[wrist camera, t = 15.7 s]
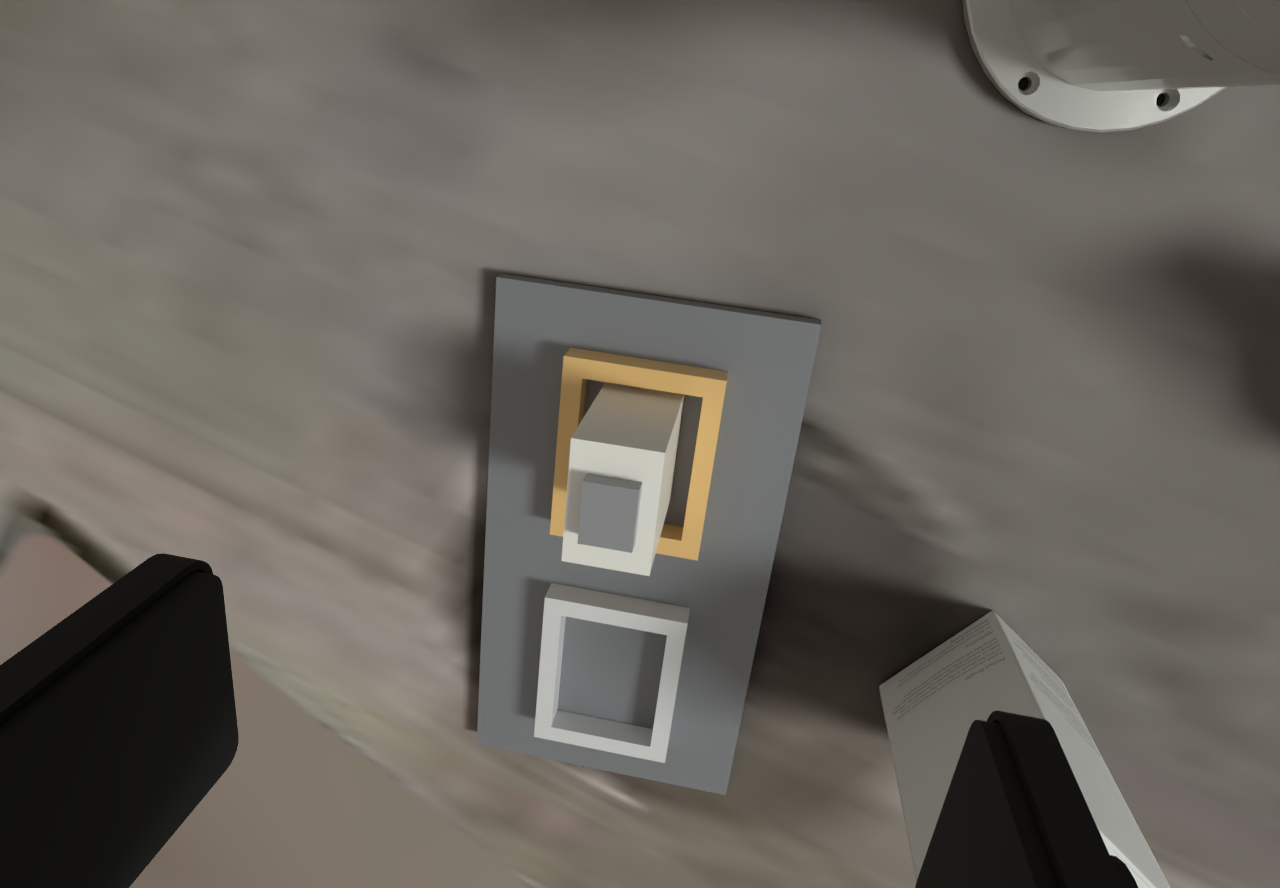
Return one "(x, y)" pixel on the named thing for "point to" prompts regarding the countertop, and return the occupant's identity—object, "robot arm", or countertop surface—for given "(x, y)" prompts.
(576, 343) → the socket panel
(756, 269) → the countertop surface
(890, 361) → the countertop surface
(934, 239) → the countertop surface
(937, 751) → the skincare box
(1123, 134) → the countertop surface
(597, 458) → the plug
